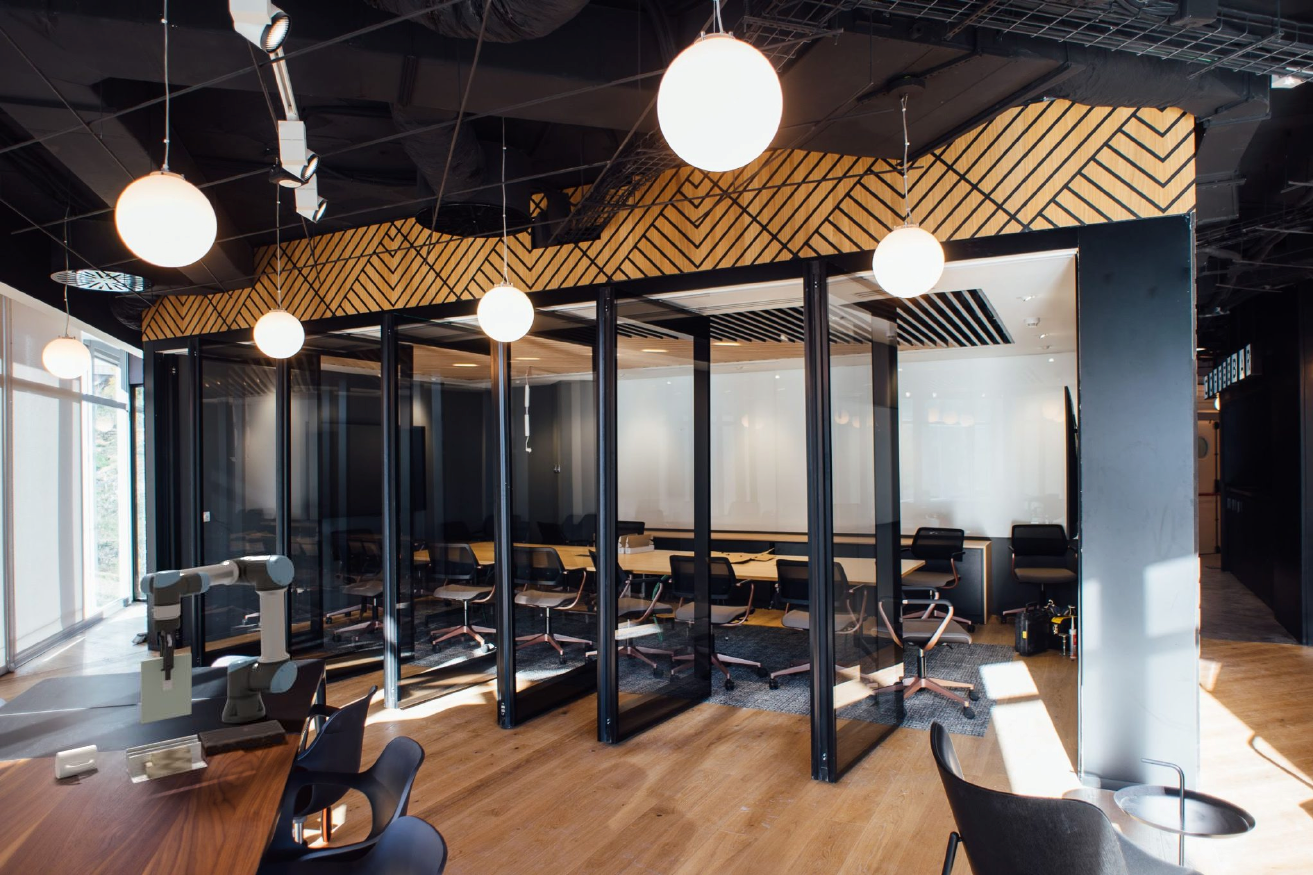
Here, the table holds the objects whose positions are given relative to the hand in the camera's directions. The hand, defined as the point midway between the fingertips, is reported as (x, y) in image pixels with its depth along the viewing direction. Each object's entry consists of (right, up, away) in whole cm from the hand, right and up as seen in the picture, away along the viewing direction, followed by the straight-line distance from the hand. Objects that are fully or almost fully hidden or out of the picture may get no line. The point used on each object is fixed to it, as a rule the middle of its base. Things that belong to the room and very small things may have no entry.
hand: (166, 688), depth 251 cm
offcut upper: (+6, -21, -8) cm, 23 cm away
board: (0, -10, -1) cm, 10 cm away
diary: (+15, -27, +19) cm, 36 cm away
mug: (-24, -26, -8) cm, 36 cm away
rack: (+4, -25, -5) cm, 26 cm away
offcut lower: (+6, -24, -8) cm, 26 cm away
